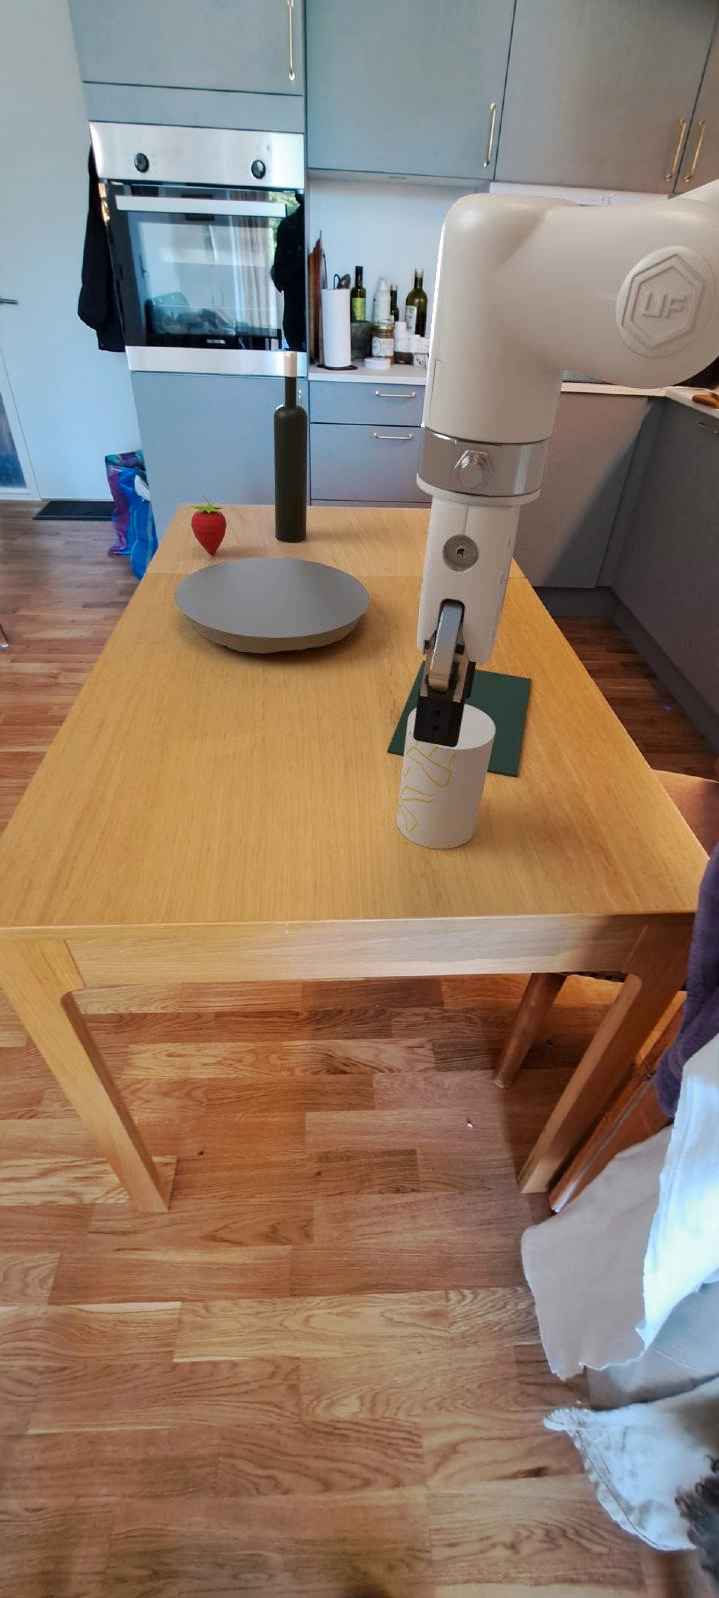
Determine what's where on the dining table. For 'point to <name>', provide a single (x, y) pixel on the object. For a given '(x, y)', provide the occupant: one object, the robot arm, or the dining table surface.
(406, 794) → the cup
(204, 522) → the strawberry
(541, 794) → the dining table surface
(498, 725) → the mat
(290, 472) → the wine bottle
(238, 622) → the flat disc
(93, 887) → the dining table surface
